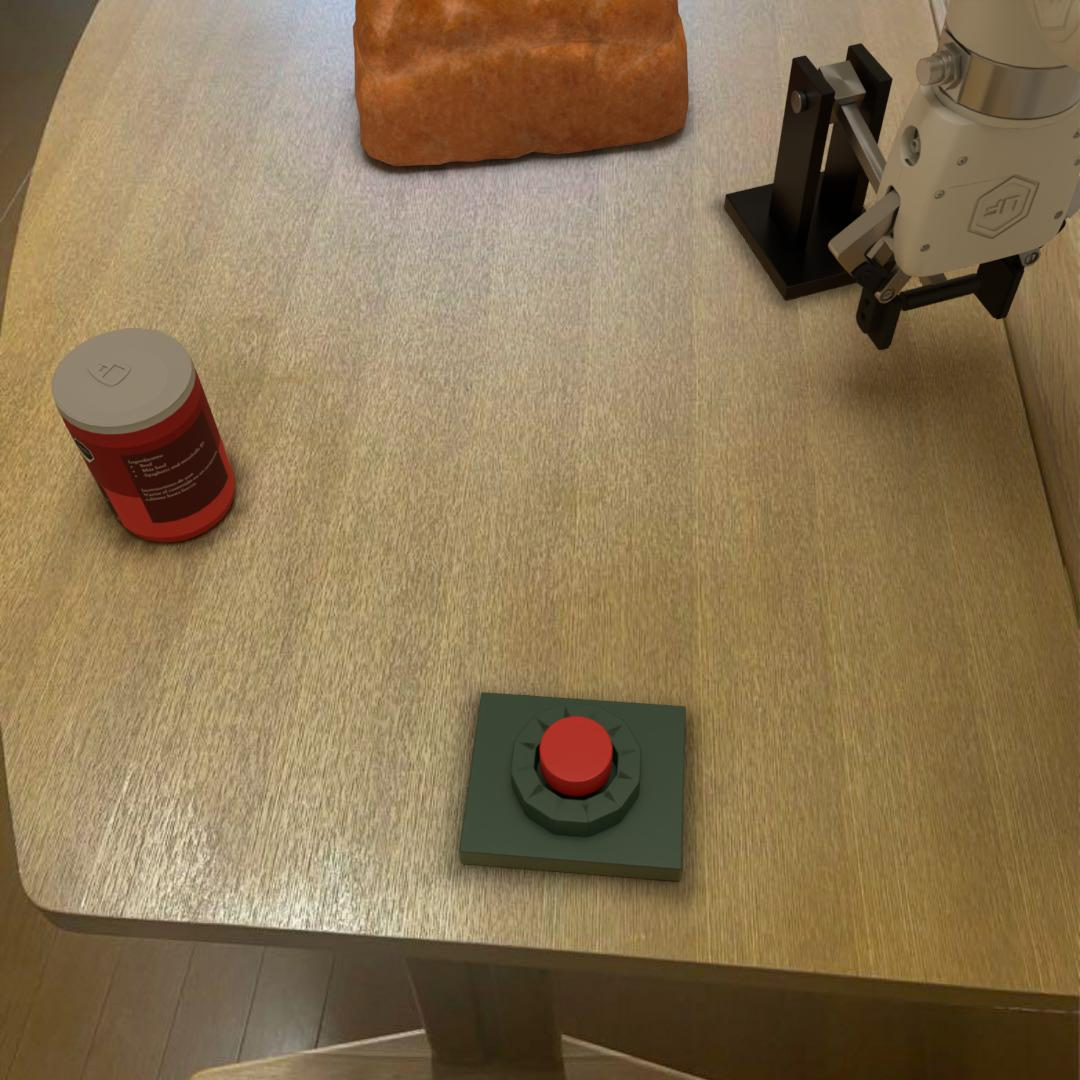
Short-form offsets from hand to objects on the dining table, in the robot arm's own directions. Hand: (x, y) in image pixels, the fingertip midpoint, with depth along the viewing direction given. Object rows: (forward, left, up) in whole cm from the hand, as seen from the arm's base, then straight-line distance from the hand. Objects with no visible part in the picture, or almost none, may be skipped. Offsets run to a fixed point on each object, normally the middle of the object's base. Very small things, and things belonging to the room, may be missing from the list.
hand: (931, 318), depth 74 cm
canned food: (+33, +36, -6) cm, 49 cm away
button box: (+1, +37, -6) cm, 37 cm away
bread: (+40, -9, -6) cm, 41 cm away
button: (+1, +37, -3) cm, 37 cm away
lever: (+7, -5, +3) cm, 9 cm away
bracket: (+13, -9, -6) cm, 17 cm away
